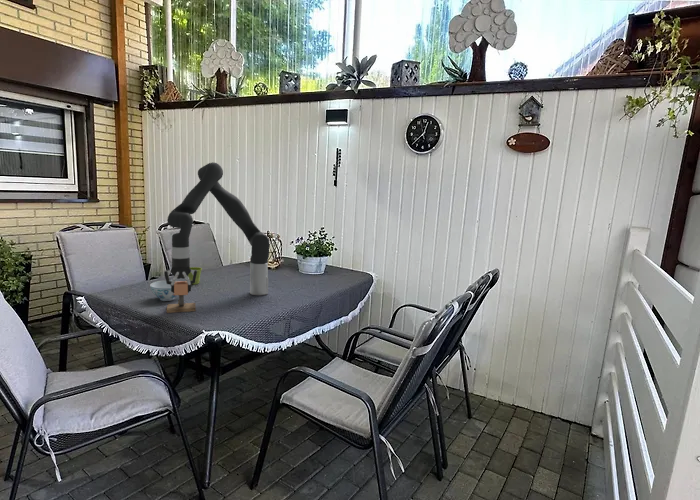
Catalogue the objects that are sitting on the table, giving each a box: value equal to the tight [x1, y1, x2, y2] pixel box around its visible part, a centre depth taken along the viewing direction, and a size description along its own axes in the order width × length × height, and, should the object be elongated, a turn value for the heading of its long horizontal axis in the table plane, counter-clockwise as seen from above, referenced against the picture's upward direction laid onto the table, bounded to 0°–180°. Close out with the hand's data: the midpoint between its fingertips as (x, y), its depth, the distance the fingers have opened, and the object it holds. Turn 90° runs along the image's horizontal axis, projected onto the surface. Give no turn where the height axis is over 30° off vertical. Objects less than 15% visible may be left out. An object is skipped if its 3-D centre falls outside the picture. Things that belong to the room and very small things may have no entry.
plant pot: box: [188, 266, 203, 285], centre depth 222 cm, size 9×9×9 cm
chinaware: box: [149, 279, 178, 302], centre depth 191 cm, size 15×15×8 cm
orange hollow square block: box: [174, 280, 189, 296], centre depth 176 cm, size 6×6×5 cm
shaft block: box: [166, 295, 197, 314], centre depth 177 cm, size 12×8×8 cm, turn 112°
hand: (181, 292), depth 176 cm, fingers closed on orange hollow square block, 5 cm apart
